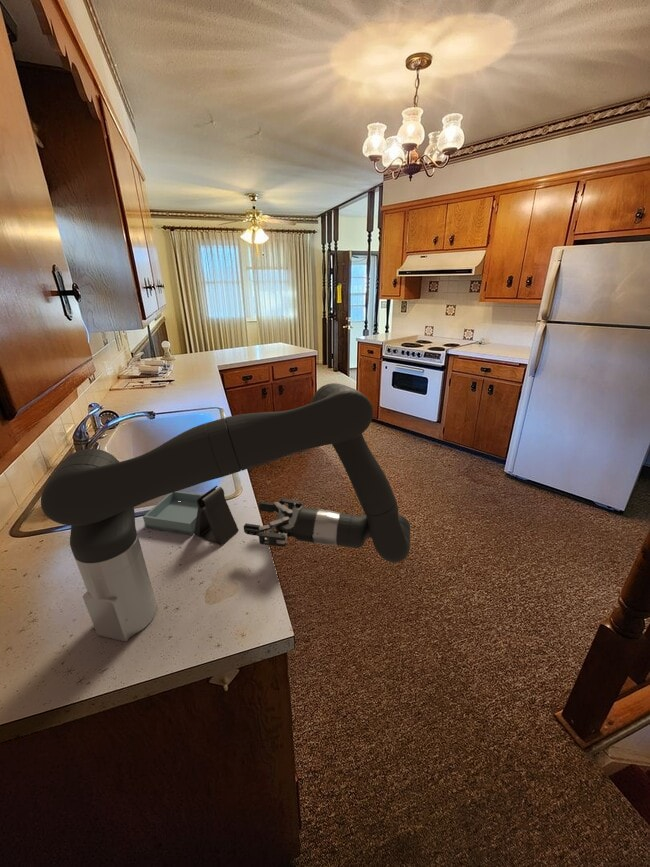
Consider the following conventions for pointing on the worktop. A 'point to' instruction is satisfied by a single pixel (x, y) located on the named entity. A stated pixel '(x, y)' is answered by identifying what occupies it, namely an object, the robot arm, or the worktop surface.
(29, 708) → the worktop surface
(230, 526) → the phone stand
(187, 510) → the slate tray
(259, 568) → the worktop surface
